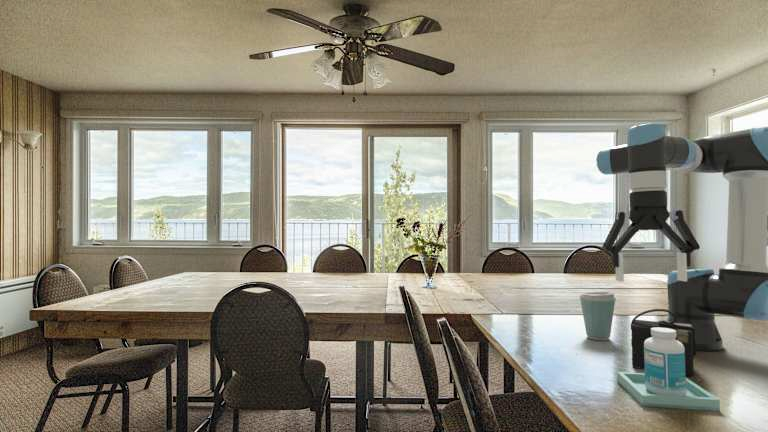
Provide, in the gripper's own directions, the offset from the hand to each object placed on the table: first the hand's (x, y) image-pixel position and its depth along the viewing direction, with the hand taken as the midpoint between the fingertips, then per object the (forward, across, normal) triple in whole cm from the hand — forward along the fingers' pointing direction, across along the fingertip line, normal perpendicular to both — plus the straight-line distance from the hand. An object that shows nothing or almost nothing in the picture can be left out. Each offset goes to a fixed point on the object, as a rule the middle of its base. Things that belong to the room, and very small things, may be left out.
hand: (650, 280), depth 99 cm
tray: (+24, +1, +8) cm, 25 cm away
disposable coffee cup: (+25, -1, -40) cm, 47 cm away
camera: (+24, -7, -11) cm, 28 cm away
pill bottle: (+23, +1, +8) cm, 25 cm away
